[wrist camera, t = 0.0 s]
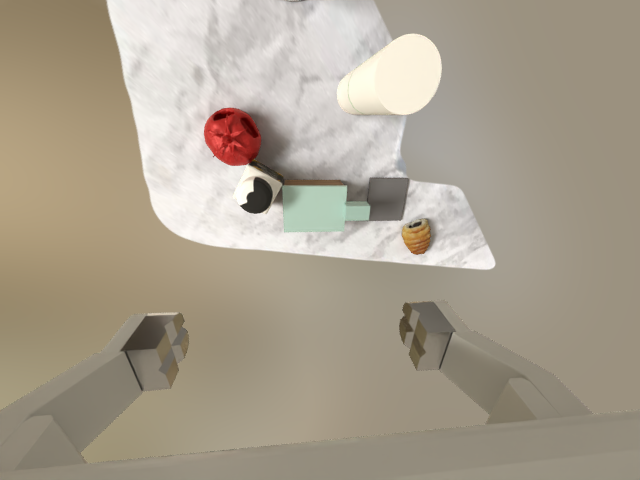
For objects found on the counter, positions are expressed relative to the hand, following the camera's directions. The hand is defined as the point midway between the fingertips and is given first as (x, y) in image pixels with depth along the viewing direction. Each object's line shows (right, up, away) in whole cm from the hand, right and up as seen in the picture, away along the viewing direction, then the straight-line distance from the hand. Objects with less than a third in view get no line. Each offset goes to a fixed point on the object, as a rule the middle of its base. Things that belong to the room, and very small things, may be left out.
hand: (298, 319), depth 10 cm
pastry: (+25, +5, +55) cm, 60 cm away
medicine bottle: (-12, +16, +45) cm, 49 cm away
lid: (+2, +9, +43) cm, 44 cm away
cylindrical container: (+8, +31, +39) cm, 51 cm away
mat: (+16, +12, +49) cm, 53 cm away
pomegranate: (-16, +24, +41) cm, 50 cm away
